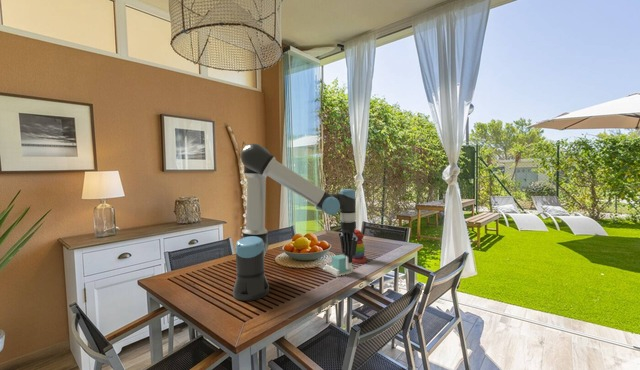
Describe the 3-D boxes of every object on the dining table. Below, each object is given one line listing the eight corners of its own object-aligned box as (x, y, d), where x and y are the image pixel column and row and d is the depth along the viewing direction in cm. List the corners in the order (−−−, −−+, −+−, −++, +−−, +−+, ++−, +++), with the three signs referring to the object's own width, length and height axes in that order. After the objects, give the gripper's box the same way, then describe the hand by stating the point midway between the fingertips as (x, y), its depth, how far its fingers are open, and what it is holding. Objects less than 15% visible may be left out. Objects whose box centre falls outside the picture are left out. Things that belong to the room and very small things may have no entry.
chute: (337, 276, 140) (337, 270, 139) (315, 265, 156) (315, 260, 156) (353, 272, 145) (353, 266, 145) (330, 262, 162) (330, 256, 162)
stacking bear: (366, 264, 157) (365, 232, 156) (347, 263, 159) (347, 231, 158) (366, 257, 168) (365, 228, 167) (349, 257, 170) (348, 227, 169)
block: (339, 273, 141) (339, 259, 141) (332, 269, 146) (332, 256, 146) (348, 270, 145) (348, 257, 144) (341, 267, 150) (341, 254, 149)
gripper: (362, 221, 135) (363, 270, 136) (345, 218, 146) (346, 263, 147) (350, 223, 131) (351, 274, 132) (334, 219, 142) (334, 266, 143)
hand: (348, 268), depth 140 cm, fingers closed
